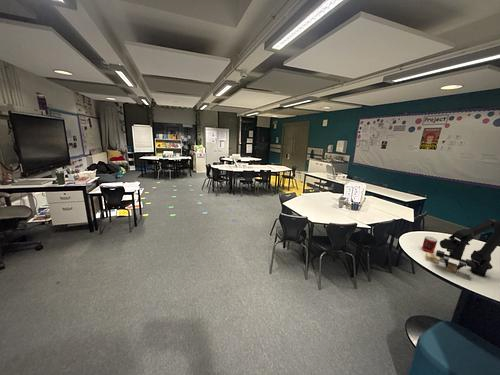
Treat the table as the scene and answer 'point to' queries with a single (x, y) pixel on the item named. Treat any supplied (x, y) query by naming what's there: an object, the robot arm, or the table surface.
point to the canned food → (429, 244)
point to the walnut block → (451, 267)
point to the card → (463, 275)
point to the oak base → (432, 258)
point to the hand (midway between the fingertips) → (450, 269)
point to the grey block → (442, 260)
